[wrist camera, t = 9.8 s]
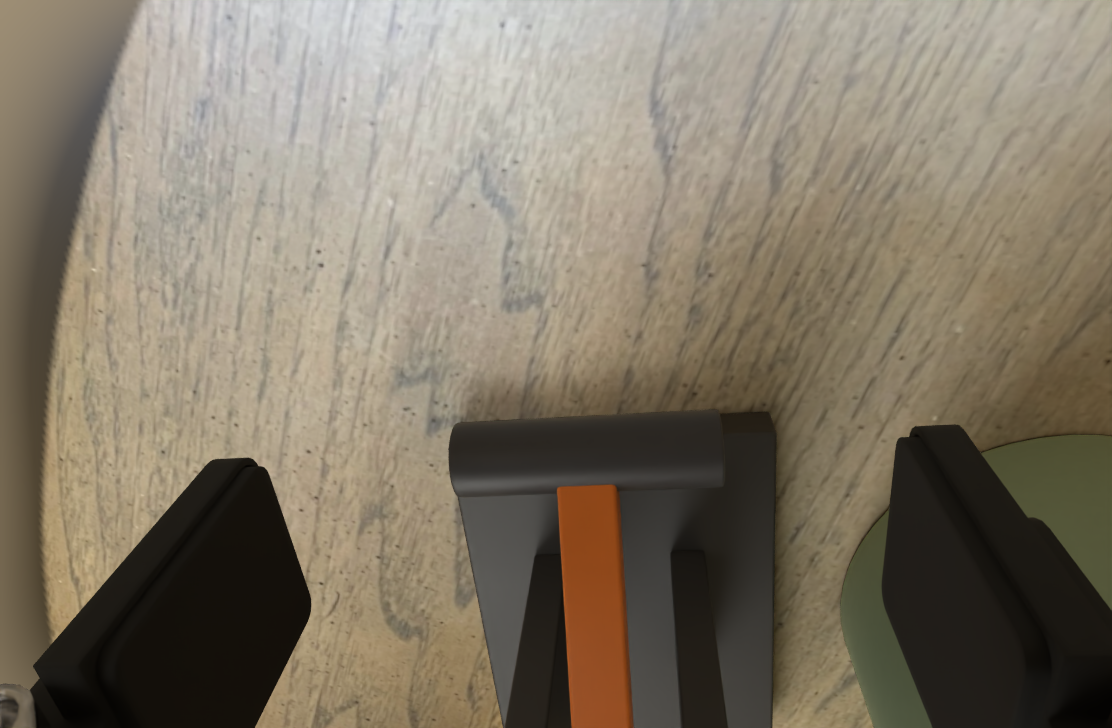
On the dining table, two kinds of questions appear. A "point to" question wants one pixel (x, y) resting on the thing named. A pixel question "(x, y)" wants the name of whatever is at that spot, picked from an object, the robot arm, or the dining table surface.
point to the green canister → (1042, 492)
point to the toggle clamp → (644, 595)
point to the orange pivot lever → (591, 518)
